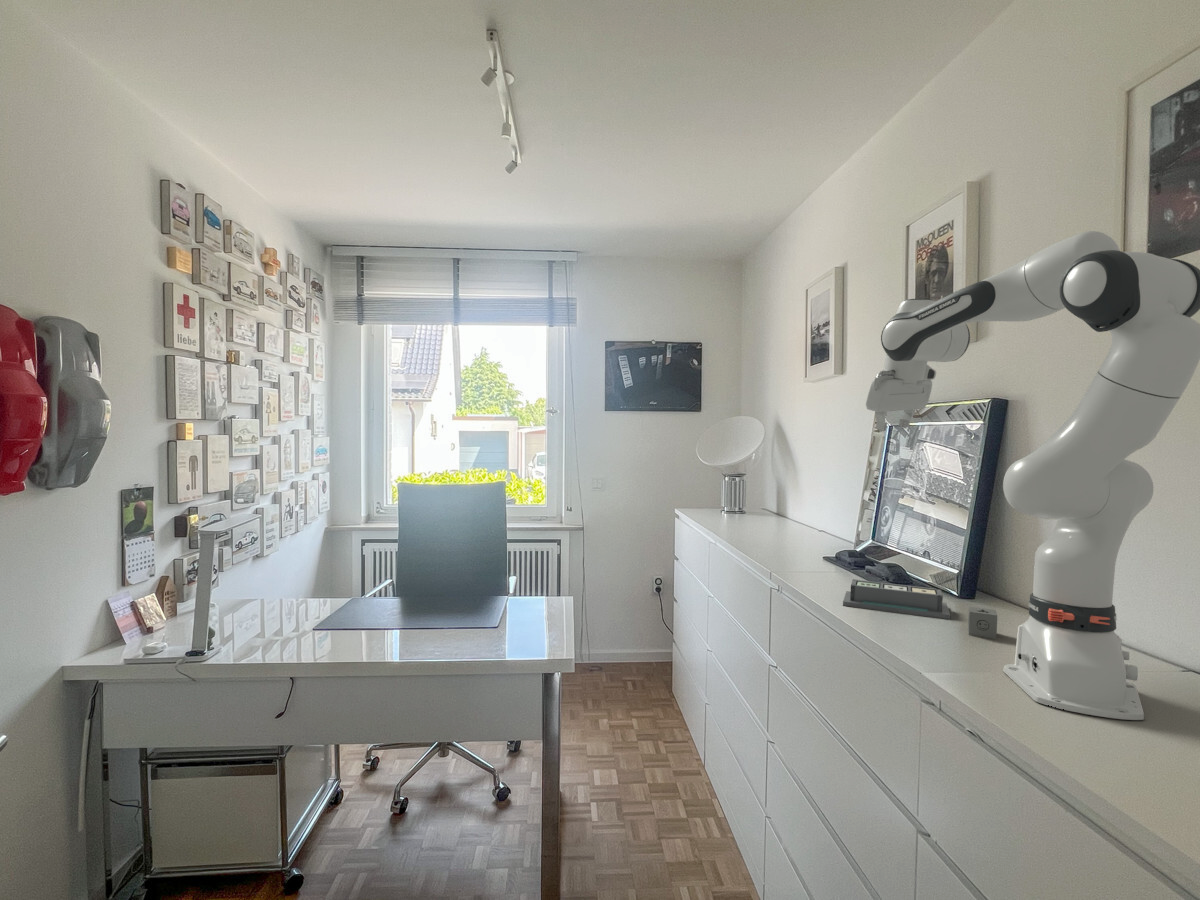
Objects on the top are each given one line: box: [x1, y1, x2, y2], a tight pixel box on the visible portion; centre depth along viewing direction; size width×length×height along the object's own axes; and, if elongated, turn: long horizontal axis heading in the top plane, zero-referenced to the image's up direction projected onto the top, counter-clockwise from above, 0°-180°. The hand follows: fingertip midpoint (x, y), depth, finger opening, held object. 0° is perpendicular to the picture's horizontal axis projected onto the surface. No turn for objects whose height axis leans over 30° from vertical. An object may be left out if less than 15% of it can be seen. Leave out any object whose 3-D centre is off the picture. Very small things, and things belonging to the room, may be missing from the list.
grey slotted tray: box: [842, 578, 951, 620], centre depth 160 cm, size 12×23×5 cm, turn 66°
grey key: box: [884, 585, 907, 591], centre depth 160 cm, size 5×5×2 cm
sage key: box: [857, 582, 879, 588], centre depth 162 cm, size 5×5×2 cm
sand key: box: [912, 588, 936, 594], centre depth 157 cm, size 5×5×2 cm
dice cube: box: [967, 606, 998, 640], centre depth 139 cm, size 5×5×5 cm
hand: (892, 428), depth 155 cm, fingers open, 8 cm apart
